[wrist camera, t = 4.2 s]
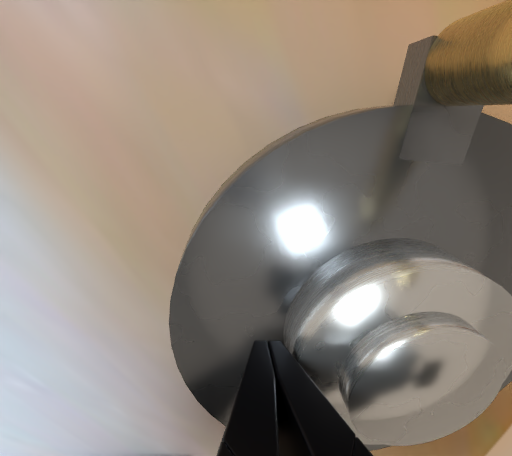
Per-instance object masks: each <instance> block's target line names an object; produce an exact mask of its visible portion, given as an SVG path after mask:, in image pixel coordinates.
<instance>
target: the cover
mask: <svg viewBox="0 0 512 456" xmlns="http://www.w3.org/2000/svg"><path fill="white" fill-rule="evenodd" d="M283 337H284V345H285V347H286V348H287V349H288V351H289V352H290V353H291V354H292V356H293V357H294V358H295V359H296V361H297V362H298V363H299V364H300V366H301V367H302V368H303V369H304V370H305V372H306V373H307V374H308V375H309V377H310V378H311V379H312V380H313V382H314V383H315V384H316V385H317V387H318V388H319V389H320V390H321V392H322V393H323V394H324V395H325V397H326V398H327V399H328V400H329V402H330V403H331V404H332V405H333V407H334V408H335V409H336V410H337V412H338V413H339V414H340V415H341V417H342V418H343V419H344V420H345V422H346V423H347V424H348V425H349V427H350V428H351V429H352V430H353V432H354V433H355V434H356V437H358V438H359V439H360V440H361V441H362V443H363V444H368V445H382V444H384V445H391V446H409V445H417V444H422V443H426V442H430V441H434V440H437V439H440V438H442V437H445V436H447V435H449V434H451V433H453V432H455V431H457V430H459V429H461V428H463V427H464V426H466V425H467V424H469V423H470V422H472V421H473V420H474V419H476V418H477V417H478V416H479V415H480V414H482V413H483V412H484V410H485V409H486V408H487V407H488V406H489V405H490V404H491V403H492V401H493V400H494V399H495V397H496V396H497V394H498V392H499V390H500V388H501V386H502V383H503V382H504V381H505V380H506V378H507V377H508V375H509V374H510V372H511V371H512V296H511V295H510V294H509V293H508V292H507V291H506V290H505V289H504V288H503V287H502V286H500V285H499V284H497V283H495V282H494V281H492V280H491V279H489V278H488V277H486V276H484V275H483V274H481V273H480V272H478V271H477V270H475V269H473V268H472V267H470V266H469V265H467V264H466V263H464V262H462V261H461V260H459V259H458V258H456V257H455V256H453V255H452V254H450V253H448V252H447V251H445V250H444V249H442V248H440V247H438V246H436V245H434V244H431V243H429V242H425V241H421V240H417V239H408V238H389V239H382V240H376V241H372V242H368V243H365V244H361V245H359V246H356V247H354V248H351V249H348V250H347V251H345V252H343V253H341V254H339V255H337V256H335V257H334V258H332V259H331V260H329V261H328V262H326V263H325V264H323V265H322V266H321V267H320V268H319V269H317V270H316V271H315V272H314V273H313V274H312V275H311V276H310V277H309V278H308V279H307V280H306V281H305V282H304V283H303V285H302V286H301V287H300V289H299V290H298V292H297V293H296V295H295V296H294V298H293V300H292V302H291V304H290V306H289V309H288V311H287V314H286V318H285V323H284V332H283Z"/></svg>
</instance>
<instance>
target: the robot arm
mask: <svg viewBox="0 0 512 456" xmlns="http://www.w3.org/2000/svg"><path fill="white" fill-rule="evenodd" d="M217 456H373V455H372V454H371V453H370V451H369V450H368V449H367V448H366V446H365V445H364V444H363V443H362V441H361V440H360V439H359V438H358V437H356V434H355V433H354V432H353V430H352V429H351V428H350V427H349V425H348V424H347V423H346V422H345V420H344V419H343V418H342V417H341V415H340V414H339V413H338V412H337V410H336V409H335V408H334V407H333V405H332V404H331V403H330V402H329V400H328V399H327V398H326V397H325V395H324V394H323V393H322V392H321V390H320V389H319V388H318V387H317V385H316V384H315V383H314V382H313V380H312V379H311V378H310V377H309V375H308V374H307V373H306V372H305V370H304V369H303V368H302V367H301V366H300V364H299V363H298V362H297V361H296V359H295V358H294V357H293V356H292V354H291V353H290V352H289V351H288V349H287V348H286V347H285V346H284V344H283V343H282V342H281V341H280V340H269V341H266V340H255V341H254V342H253V345H252V348H251V351H250V355H249V358H248V361H247V364H246V367H245V370H244V373H243V376H242V379H241V382H240V386H239V389H238V392H237V395H236V398H235V401H234V404H233V407H232V410H231V413H230V417H229V420H228V423H227V426H226V429H225V432H224V435H223V438H222V442H221V444H220V447H219V450H218V453H217Z"/></svg>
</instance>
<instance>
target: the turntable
mask: <svg viewBox="0 0 512 456" xmlns="http://www.w3.org/2000/svg"><path fill="white" fill-rule="evenodd" d="M505 104H512V0H506V1H504V2H501V3H499V4H496V5H494V6H491V7H489V8H486V9H484V10H481V11H479V12H477V13H474V14H472V15H469V16H467V17H464V18H462V19H459V20H457V21H455V22H453V23H452V24H450V25H449V26H448V27H446V28H445V29H444V30H443V31H442V32H441V33H440V34H439V36H431V37H428V38H425V39H423V40H420V41H417V42H415V43H412V44H409V46H408V50H407V54H406V58H405V62H404V66H403V70H402V74H401V78H400V82H399V86H398V90H397V94H396V98H395V102H394V106H381V107H373V108H364V109H355V110H351V111H347V112H343V113H340V114H336V115H332V116H328V117H324V118H322V119H319V120H317V121H315V122H312V123H310V124H307V125H305V126H302V127H300V128H297V129H295V130H293V131H292V132H290V133H288V134H286V135H285V136H283V137H281V138H279V139H278V140H276V141H274V142H272V143H271V144H269V145H267V146H266V147H265V148H263V149H262V150H261V151H259V152H258V153H257V154H255V155H254V156H253V157H252V158H250V159H249V160H248V161H246V162H245V163H244V164H243V165H242V166H241V167H240V168H239V169H238V170H237V171H236V172H235V173H234V174H233V175H232V176H231V177H229V178H228V179H227V180H226V181H225V182H224V183H223V185H222V186H221V187H220V188H219V190H218V191H217V192H216V194H215V195H214V196H213V197H212V199H211V200H210V201H209V203H208V204H207V205H206V207H205V208H204V210H203V212H202V214H201V215H200V217H199V219H198V221H197V222H196V224H195V226H194V228H193V229H192V232H191V235H190V237H189V240H188V242H187V245H186V247H185V250H184V252H183V255H182V258H181V261H180V264H179V268H178V271H177V274H176V278H175V282H174V287H173V291H172V295H171V300H170V317H169V328H170V337H171V346H172V350H173V353H174V357H175V360H176V363H177V367H178V369H179V371H180V373H181V375H182V377H183V379H184V381H185V383H186V385H187V387H188V388H189V390H190V391H191V392H192V394H193V395H194V397H195V398H196V400H197V401H198V402H199V403H200V404H201V405H202V406H203V407H204V408H205V409H206V410H207V411H208V412H209V413H210V414H211V415H212V416H213V417H214V418H216V419H217V420H218V421H220V422H221V423H222V424H223V425H225V426H227V423H228V420H229V417H230V413H231V410H232V407H233V404H234V401H235V398H236V395H237V392H238V389H239V386H240V382H241V379H242V376H243V373H244V370H245V367H246V364H247V361H248V358H249V355H250V351H251V348H252V345H253V342H254V341H255V340H266V341H269V340H280V341H281V342H282V343H283V344H284V337H283V332H284V323H285V318H286V314H287V311H288V309H289V306H290V304H291V302H292V300H293V298H294V296H295V295H296V293H297V292H298V290H299V289H300V287H301V286H302V285H303V283H304V282H305V281H306V280H307V279H308V278H309V277H310V276H311V275H312V274H313V273H314V272H315V271H316V270H317V269H319V268H320V267H321V266H322V265H323V264H325V263H326V262H328V261H329V260H331V259H332V258H334V257H335V256H337V255H339V254H341V253H343V252H345V251H347V250H348V249H351V248H354V247H356V246H359V245H361V244H365V243H368V242H372V241H376V240H382V239H389V238H408V239H417V240H421V241H425V242H429V243H431V244H434V245H436V246H438V247H440V248H442V249H444V250H445V251H447V252H448V253H450V254H452V255H453V256H455V257H456V258H458V259H459V260H461V261H462V262H464V263H466V264H467V265H469V266H470V267H472V268H473V269H475V270H477V271H478V272H480V273H481V274H483V275H484V276H486V277H488V278H489V279H491V280H492V281H494V282H495V283H497V284H499V285H500V286H502V287H503V288H504V289H505V290H506V291H507V292H508V293H509V294H510V295H511V296H512V125H511V124H509V123H507V122H505V121H502V120H500V119H497V118H494V117H492V116H489V115H487V114H484V113H481V111H482V109H483V106H484V105H505ZM284 346H285V345H284ZM511 381H512V371H511V372H510V374H509V375H508V377H507V378H506V380H505V381H504V382H503V383H502V386H501V388H500V390H502V389H503V388H504V387H505V386H506V385H508V384H509V383H510V382H511ZM500 390H499V391H500ZM364 445H365V446H366V448H367V449H368V450H369V451H371V450H377V449H382V448H386V447H390V446H391V445H384V444H382V445H368V444H364Z"/></svg>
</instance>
